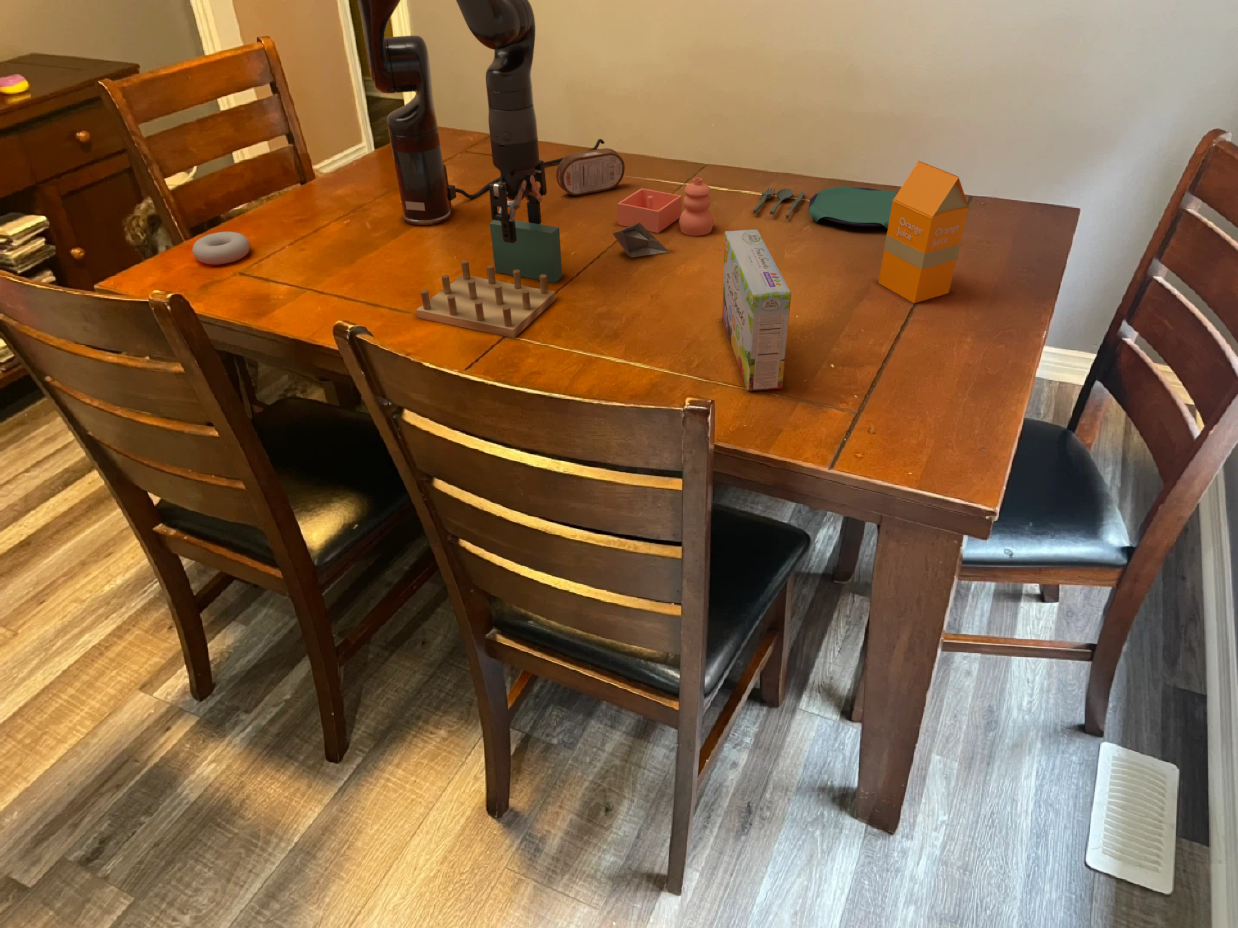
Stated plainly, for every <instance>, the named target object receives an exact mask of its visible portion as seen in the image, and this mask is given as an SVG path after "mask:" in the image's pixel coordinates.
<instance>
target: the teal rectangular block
mask: <svg viewBox="0 0 1238 928" xmlns="http://www.w3.org/2000/svg"><path fill="white" fill-rule="evenodd" d="M514 221H515V227H516V237H517V241H516V242H514V243H508V242H505V241H504V240H503V235H502V226H501V221H497V220H492V221H490V222H489V231H490V238H491V248H492V257H493V266H494V272H495V273H498V274H504V275H508V276H513V270H520V276H521V278H526V279H531V280H536V281H540V277H539V276H540V275H542V274H544V275H547V283H554V284H556V283H557V282H558V281H559V280H561V278H562V277H563V265H562V263H563V262H562V250H561V249H562V248H561V236H560V235H561V234H560V233H561V232H560V227H559V226H553V225H547V224H542V223H540V224H535V223H529V222H528V221H522V220H515V219H514Z"/></svg>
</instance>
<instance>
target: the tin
mask: <svg viewBox="0 0 1238 928" xmlns="http://www.w3.org/2000/svg"><path fill="white" fill-rule="evenodd" d="M564 157H565V158H564ZM564 157H562V158H563V159H562V161H561V162H559V163H558V165H557V168H556V173H555V176H556V177H555V178H556V182H557V185H558V186H559V188H561V189H562V190H563V191H564V192H565V193H567V194H569V195H571V196H583V195H587V194H594V193H599V192H604V191H609V190H613V189H614V188H617V186H619V184H620V183H621V181H622V180H623V178H624V175H625V170H626V169H625V168H626V167H625V166H626V165H625V161H624V159H623V158H622V156H621V155H620V154H618V152H617V151H616V150H614V149H612V148H609V147H605V148H597V149H596V150H591V151H588V150H585V151H579V152H572V153H569V154H567V155H566V156H564Z"/></svg>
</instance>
